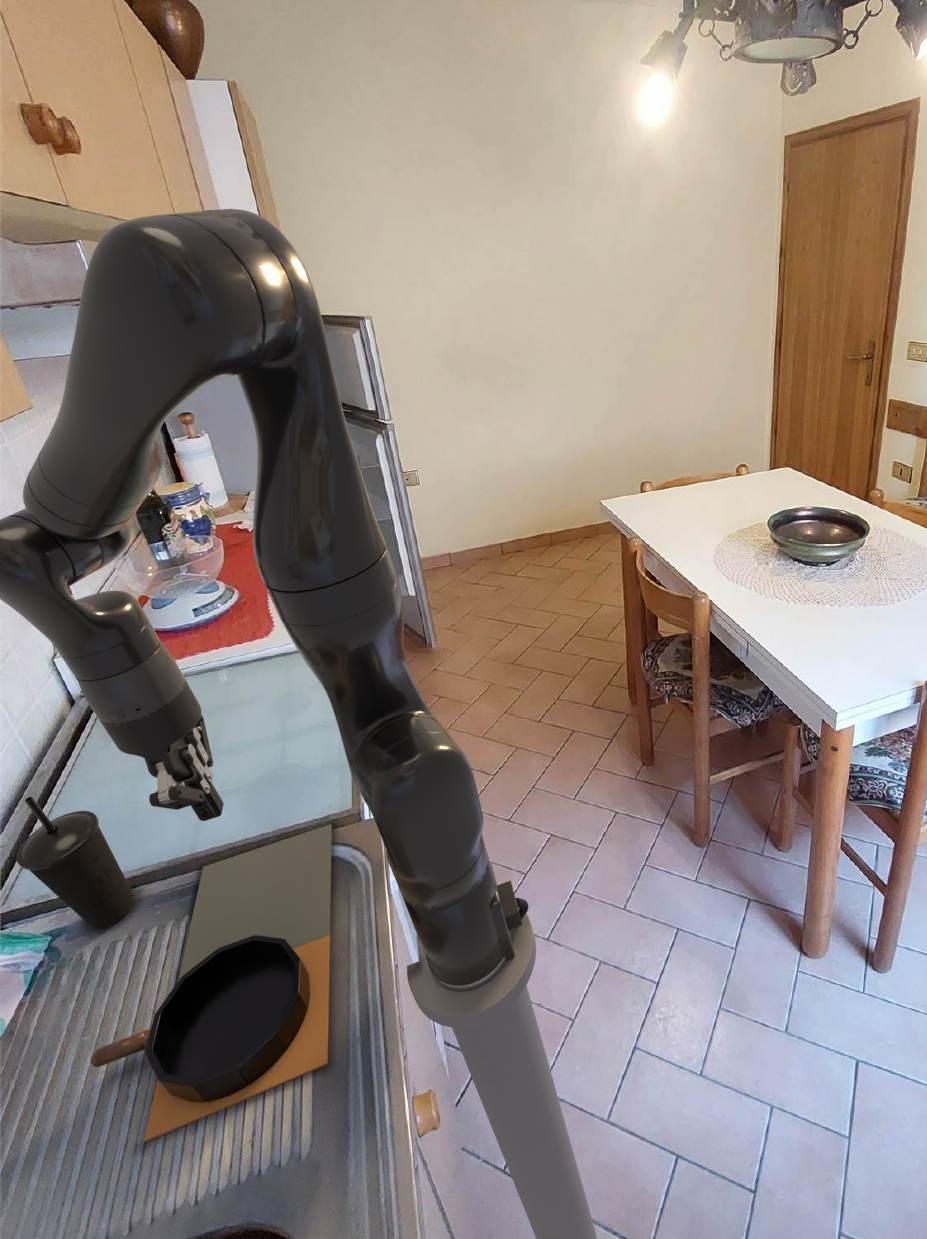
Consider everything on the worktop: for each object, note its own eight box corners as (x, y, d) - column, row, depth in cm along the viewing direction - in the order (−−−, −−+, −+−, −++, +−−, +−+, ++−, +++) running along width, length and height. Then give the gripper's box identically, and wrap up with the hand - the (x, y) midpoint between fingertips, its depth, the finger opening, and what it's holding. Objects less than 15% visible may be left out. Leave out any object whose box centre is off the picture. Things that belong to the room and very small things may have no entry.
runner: (331, 825, 91) (331, 823, 90) (327, 1064, 65) (326, 1063, 65) (203, 868, 86) (202, 866, 86) (145, 1142, 60) (143, 1141, 60)
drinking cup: (60, 944, 79) (-35, 831, 69) (102, 885, 85) (20, 775, 76) (124, 937, 79) (37, 824, 69) (160, 880, 85) (86, 769, 76)
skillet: (312, 935, 76) (303, 916, 75) (307, 1063, 65) (295, 1044, 63) (124, 1005, 71) (109, 986, 70) (81, 1157, 60) (61, 1140, 58)
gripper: (167, 725, 60) (241, 849, 68) (196, 646, 71) (256, 761, 79) (72, 752, 58) (161, 876, 66) (117, 666, 69) (188, 782, 77)
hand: (213, 813), depth 73 cm, fingers closed
